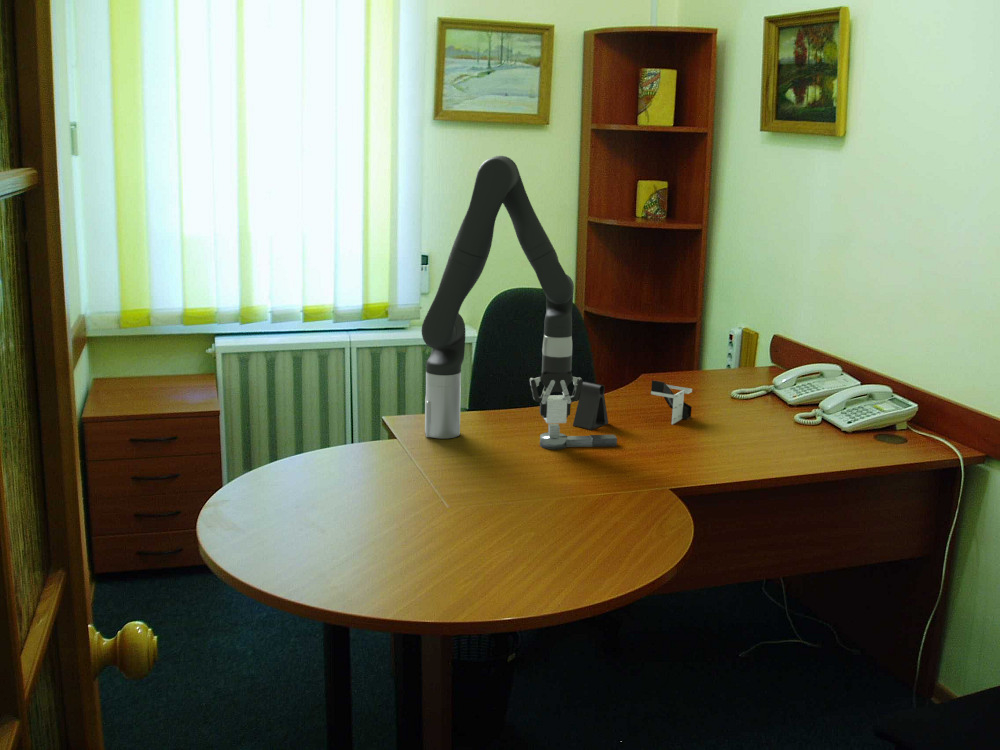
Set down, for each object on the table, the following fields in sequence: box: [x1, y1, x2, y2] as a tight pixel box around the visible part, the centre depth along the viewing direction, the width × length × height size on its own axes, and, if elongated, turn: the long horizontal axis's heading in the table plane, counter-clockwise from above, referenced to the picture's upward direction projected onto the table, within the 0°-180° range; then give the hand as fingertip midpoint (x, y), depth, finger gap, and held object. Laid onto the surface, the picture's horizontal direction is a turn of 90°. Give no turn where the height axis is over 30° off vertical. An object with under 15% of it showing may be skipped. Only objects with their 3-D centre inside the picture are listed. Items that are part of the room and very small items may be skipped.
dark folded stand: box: [572, 381, 609, 431], centre depth 266 cm, size 9×6×12 cm, turn 141°
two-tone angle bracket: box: [650, 380, 693, 425], centre depth 274 cm, size 9×10×12 cm
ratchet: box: [539, 423, 618, 451], centre depth 248 cm, size 20×7×6 cm, turn 98°
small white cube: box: [543, 394, 568, 424], centre depth 246 cm, size 5×5×6 cm
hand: (554, 416), depth 246 cm, fingers closed on small white cube, 5 cm apart
